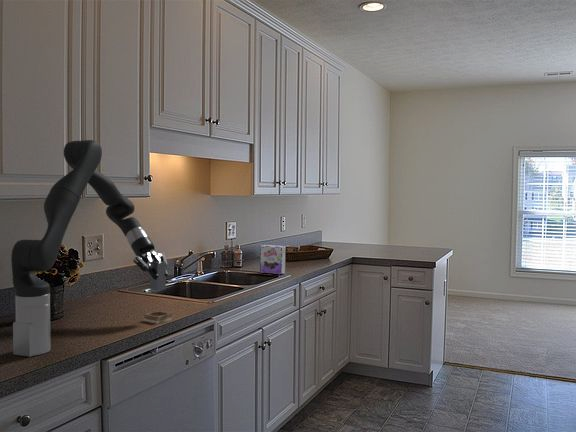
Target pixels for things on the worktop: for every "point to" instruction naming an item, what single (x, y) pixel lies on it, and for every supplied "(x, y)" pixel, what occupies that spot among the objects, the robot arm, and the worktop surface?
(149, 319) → the socket
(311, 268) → the worktop surface
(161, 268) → the grey tall block
